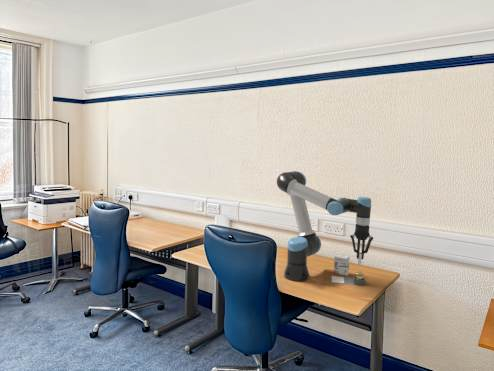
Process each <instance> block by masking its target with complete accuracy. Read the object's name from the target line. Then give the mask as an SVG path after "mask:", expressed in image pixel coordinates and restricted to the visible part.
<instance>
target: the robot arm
mask: <svg viewBox="0 0 494 371" xmlns="http://www.w3.org/2000/svg"><path fill="white" fill-rule="evenodd" d="M306 184H307V178H306V176H305V175H304V173H302V172H300V171H297V170H296V171H295V170H293V171H287V172H285V171H283V172H281V173H280V174H279V175H278V176H277V178H276V185H277V187H278V189H279V190H280V191H282V192H284V193H286V194H287V196H289V197H290V200H291V204H292V210H293V213H294V217H295V222H296V226H297V230H298V234H297V236H296V237H295V236H294V237H291V238H289V240H288V241H287V261H286V263H287V264H286V267H285V269H284V271H283V272H284V273H283V277H284V278H285V279H287V280H290V281H295V282H300V281H301V282H303V281H307V280H308V279H309V278H310V272H309V269H308V266H307V265H308V263H307V261H308V257H310V256H313V255H316V254H317V253H319V251H320V250H321V248H322V242H321V239H320V237H319V236H318V235H317V233H316V232H315V231H314V230H313V227H312V223H311V219H310V214H309V211H308V205H307V202H309V203H311V204H313V205H316V206H318V207H320V208H321V209H323V210H326V211H327V212H328V213H329V215H332V216H339V215H341V214H344V213H355V214H356V215H355V229H354V230H355V231H354V232H353V233H352V234H349V237H350V240H351V241H352V242H351V243H352V247H353V248H352V249H353V251H354V253H356V259H357V260H358V261H357V265H358V266H361V265H362V260H364V256H365V254H367V253H368V252H369V249H370V246H371V243H372V242H373V240H374V237H373V236H372V235H371V234H370V222H371V211H372V199H371V198H370V197H367V196H359V197H357V199H353V198H347V197H339V198H337V199H336V198H334V197H331V196H328V195H327V194H324V193H322V192H320V191H318V190H316V189H313V188H311V187H309V186H307V185H306ZM306 201H307V202H306ZM355 238H356V239H357V243H355ZM367 239H368V241H367V243H366V240H367ZM356 244H357V245H356ZM360 248H361V249H360ZM360 250H361V252H360Z"/></svg>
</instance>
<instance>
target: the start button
mask: <svg viewBox="0 0 494 371" xmlns="http://www.w3.org/2000/svg"><path fill="white" fill-rule="evenodd" d="M364 275H365V273H364V272H363V271H356V272H355V276H356V279H360V280H363V277H364Z"/></svg>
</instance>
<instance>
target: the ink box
mask: <svg viewBox="0 0 494 371" xmlns="http://www.w3.org/2000/svg"><path fill="white" fill-rule="evenodd" d="M333 260H334V261H333V274H336V275H341V276H348V275H349V273H350V256H348V255H347V256H346V255H341V254H336V255H334V259H333Z"/></svg>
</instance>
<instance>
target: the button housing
mask: <svg viewBox="0 0 494 371" xmlns="http://www.w3.org/2000/svg"><path fill="white" fill-rule="evenodd" d="M353 278H354V285H355V286H364V285H365V286H366V278H365V276H363V280H360V279H356V275H354V276H353Z"/></svg>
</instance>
